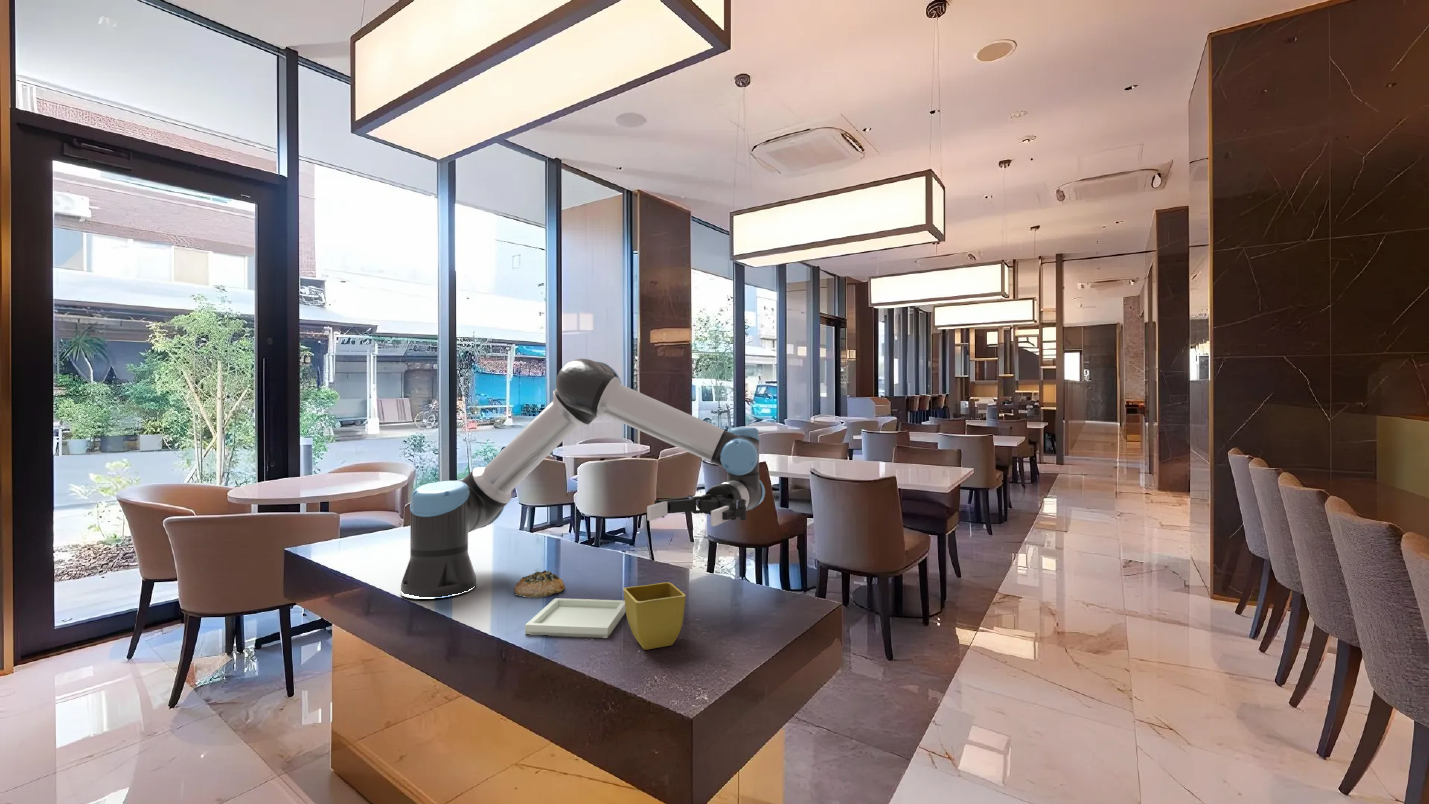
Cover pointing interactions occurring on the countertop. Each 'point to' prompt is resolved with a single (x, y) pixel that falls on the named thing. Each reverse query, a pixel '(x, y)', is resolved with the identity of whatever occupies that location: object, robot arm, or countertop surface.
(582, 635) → the tray
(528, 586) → the bread roll
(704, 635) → the countertop surface
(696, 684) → the countertop surface
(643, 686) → the countertop surface
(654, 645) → the flower pot
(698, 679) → the countertop surface
